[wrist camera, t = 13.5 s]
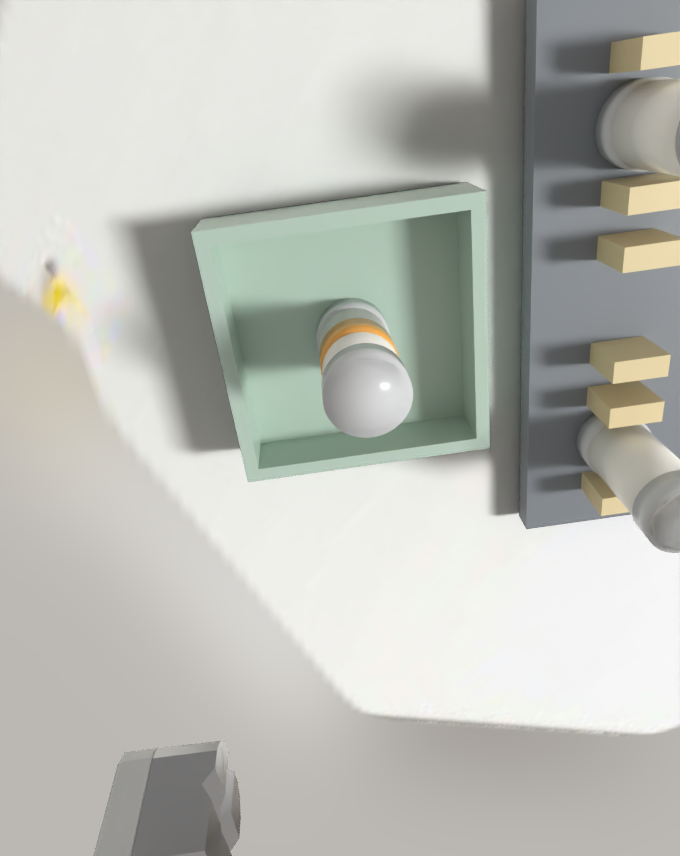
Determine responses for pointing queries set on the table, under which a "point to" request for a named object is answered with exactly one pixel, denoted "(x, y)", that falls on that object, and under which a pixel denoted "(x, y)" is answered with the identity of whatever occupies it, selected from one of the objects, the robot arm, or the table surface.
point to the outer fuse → (637, 476)
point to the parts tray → (340, 279)
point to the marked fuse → (361, 370)
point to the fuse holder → (593, 254)
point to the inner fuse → (642, 126)
